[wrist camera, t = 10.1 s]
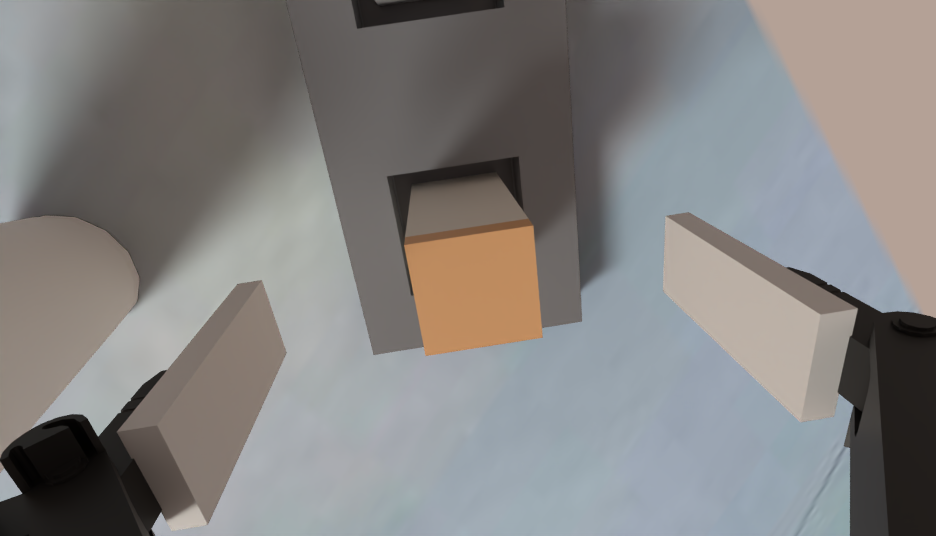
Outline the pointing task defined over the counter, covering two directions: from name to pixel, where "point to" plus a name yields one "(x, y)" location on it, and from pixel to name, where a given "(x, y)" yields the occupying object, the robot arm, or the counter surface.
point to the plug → (471, 264)
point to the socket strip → (441, 132)
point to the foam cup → (54, 310)
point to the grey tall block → (391, 2)
